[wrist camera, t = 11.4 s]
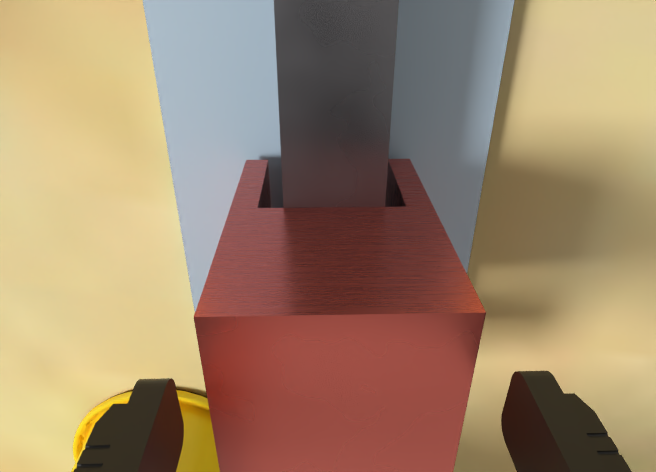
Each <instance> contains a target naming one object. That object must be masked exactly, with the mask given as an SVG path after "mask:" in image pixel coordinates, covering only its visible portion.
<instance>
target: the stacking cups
mask: <svg viewBox="0 0 656 472" xmlns="http://www.w3.org/2000/svg"><path fill="white" fill-rule="evenodd" d="M176 391H177V395H178V400H179V404H180V409H181V413H182V417H183V423H184V438H183V446H182V450H181V454H180V458H179V462H178V466H177V470H176V472H220V470H219V464H218V458H217V452H216V446H215V440H214V434H213V428H212V422H211V416H210V410H209V404H208V399H207V398H206V397H203V396H200V395H197V394H193V393H189V392H186V391H180V390H176ZM131 394H132V391H131V392H126V393H123V394H119V395H117V396H114V397H112V398H110V399H108V400H106V401H104V402H102V403H101V404H99V405H97V406H96V407H95V408H93V409H92V410H91V411H90V412H89V413H88V414H87V415H86V416H85V418H84V419H83V420H82V422H81V423H80V425H79V427H78V429H77V431H76V434H75V437H74V443H73V454H74V460H75V462H76V463H75V465H74V467H73V469H72V471H71V472H73V471H74V469H76V468H77V462H78V460H79V458H80V456H81V454H82V451H83V450H85V445H86V443H87V440H88V438H89V436H90V434H91V432H92V430H93V427H94V425H95V423H96V422H97V421H98V420H99V419H100V418H101V417H102V416H103V414H104V413H105V412H106V411H107V410H108V409H109V408H110V407H111V406H112V405H113V404H127V403H128V401H129V398H130V396H131Z"/></svg>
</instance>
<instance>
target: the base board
mask: <svg viewBox="0 0 656 472" xmlns="http://www.w3.org/2000/svg"><path fill="white" fill-rule="evenodd" d="M143 5H144V11H145V17H146V23H147V29H148V35H149V41H150V47H151V53H152V59H153V65H154V70H155V76H156V82H157V88H158V94H159V100H160V106H161V112H162V118H163V124H164V130H165V136H166V142H167V148H168V154H169V160H170V166H171V172H172V178H173V184H174V190H175V196H176V202H177V208H178V214H179V220H180V226H181V232H182V238H183V244H184V250H185V256H186V262H187V268H188V274H189V280H190V286H191V292H192V298H193V304H194V310H195V312H196V309H197V306H198V303H199V300H200V297H201V294H202V291H203V288H204V285H205V282H206V279H207V276H208V273H209V270H210V267H211V264H212V261H213V258H214V255H215V252H216V249H217V246H218V243H219V240H220V237H221V234H222V231H223V228H224V225H225V222H226V219H227V216H228V213H229V210H230V207H231V204H232V201H233V198H234V195H235V192H236V189H237V186H238V183H239V180H240V177H241V174H242V171H243V168H244V165H245V162H246V160H268V164H269V180H270V197H271V208H283V188H282V167H281V146H280V124H279V103H278V82H277V60H276V39H275V18H274V0H143ZM513 6H514V0H399V9H398V24H397V38H396V53H395V68H394V82H393V97H392V112H391V127H390V141H389V156H388V159H410V160H411V162H412V164H413V166H414V168H415V170H416V172H417V174H418V176H419V178H420V180H421V182H422V184H423V186H424V188H425V190H426V192H427V195H428V197H429V199H430V201H431V203H432V205H433V207H434V209H435V211H436V213H437V215H438V217H439V219H440V221H441V223H442V225H443V227H444V229H445V231H446V233H447V235H448V237H449V239H450V241H451V243H452V245H453V247H454V249H455V251H456V253H457V255H458V257H459V259H460V261H461V263H462V265H463V267H464V269H465V271H466V273H467V271H468V265H469V259H470V253H471V248H472V242H473V236H474V230H475V225H476V219H477V213H478V207H479V202H480V196H481V190H482V184H483V179H484V173H485V167H486V161H487V156H488V150H489V144H490V138H491V132H492V127H493V121H494V115H495V109H496V104H497V98H498V92H499V86H500V81H501V75H502V69H503V63H504V58H505V52H506V46H507V40H508V35H509V29H510V23H511V17H512V12H513Z"/></svg>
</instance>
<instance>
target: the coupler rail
mask: <svg viewBox="0 0 656 472" xmlns="http://www.w3.org/2000/svg"><path fill="white" fill-rule="evenodd" d="M398 9H399V0H274V18H275V39H276V60H277V82H278V103H279V124H280V146H281V167H282V188H283V208H312V207H385V200H386V185H387V171H388V156H389V141H390V127H391V112H392V97H393V82H394V68H395V53H396V38H397V24H398Z"/></svg>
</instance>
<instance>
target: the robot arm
mask: <svg viewBox="0 0 656 472" xmlns="http://www.w3.org/2000/svg"><path fill="white" fill-rule="evenodd" d="M501 422H502V432H503V436H504V440H505V443H506V445H507V448H508V450H509V453H510V455H511V458H512V460H513V463H514V465H515V468H516V470H517V472H632V471H631V470H630V468H629V467H628V465H627V463H626V462H625V460H624V459H623V457H622V455H619V453H618V449H617V447H616V446H615V444H614V442H613V441H612V439H611V438H610V437H608V435H607V431H606V429H605V428H604V426H603V425H602V423H601V421H600V420H599V418H598V417H597V415H596V413H595V412H594V411H593V410H592V409H591V408H590V407H589V406H588V405H587V404H585V403H584V402H583V401H582V400H581V399H580V398H579V397H578V396H577V395H575V394H564V393H563V392H562V390H561V388H560V386H559V385H558V383H557V381H556V380H555V378H554V376H553V375H552V374H551V373H550V372H549V371H518V372H514V374H513V375H512V378H511V382H510V386H509V390H508V393H507V397H506V401H505V404H504V408H503V412H502V419H501ZM183 438H184V423H183V417H182V413H181V409H180V404H179V400H178V395H177V391H176V386H175V382H174V380H173V379H140V380H138V381H137V382H136V384H135V386H134V389H133V391H132V394H131V396H130V398H129V401H128V403H127V404H113V405H112V406H111V407H110V408H109V409H108V410H107V411H106V412H105V413H104V414H103V416H102V417H101V418H100V419H99V420H98V421H97V422H96V423H95V425H94V427H93V430H92V432H91V434H90V436H89V438H88V440H87V443H86V445H85V450H83V451H82V454H81V456H80V458H79V460H78V462H77V468H76V469H74V471H73V472H176V470H177V466H178V462H179V458H180V454H181V450H182V446H183Z"/></svg>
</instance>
